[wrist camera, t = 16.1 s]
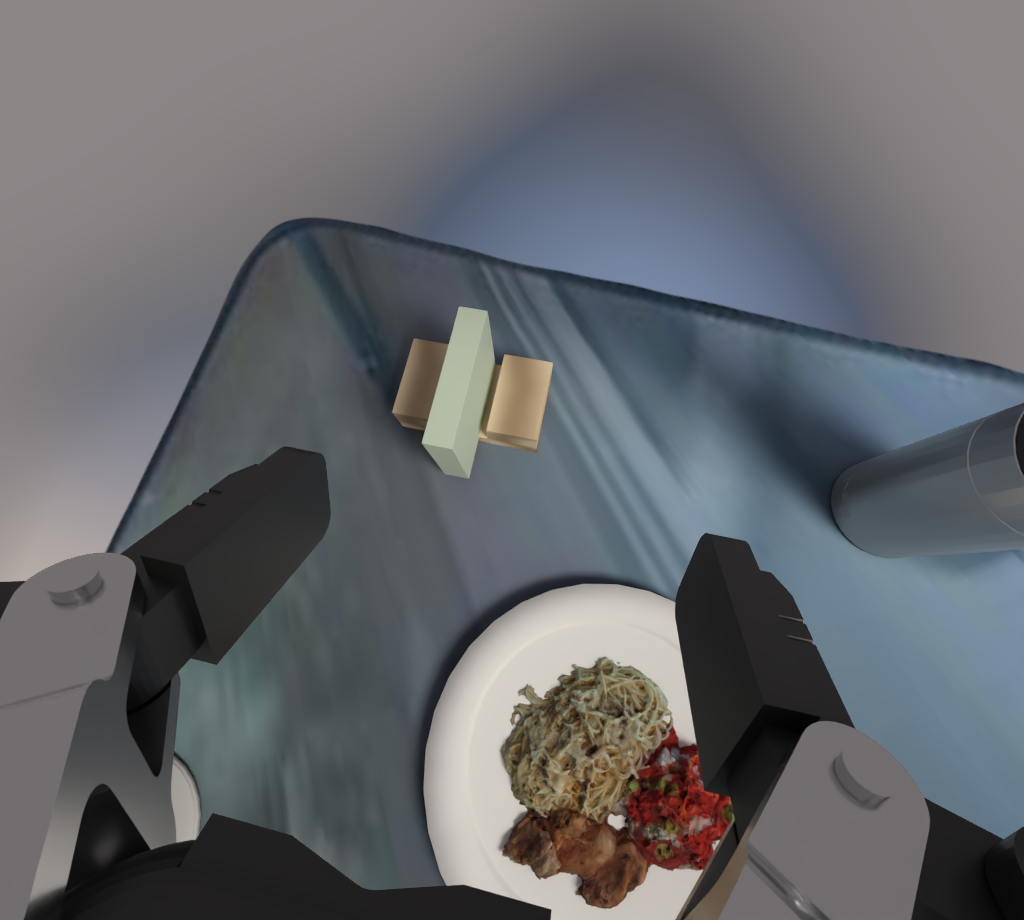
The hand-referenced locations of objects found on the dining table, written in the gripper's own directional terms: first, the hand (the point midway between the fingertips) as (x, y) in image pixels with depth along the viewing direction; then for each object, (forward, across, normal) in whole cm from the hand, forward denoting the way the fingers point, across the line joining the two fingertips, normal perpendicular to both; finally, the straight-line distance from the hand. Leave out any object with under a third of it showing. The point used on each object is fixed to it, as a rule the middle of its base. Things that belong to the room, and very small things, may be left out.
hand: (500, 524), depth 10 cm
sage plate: (+33, +8, +14) cm, 37 cm away
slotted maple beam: (+36, +8, +13) cm, 39 cm away
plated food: (+15, -10, +35) cm, 39 cm away
